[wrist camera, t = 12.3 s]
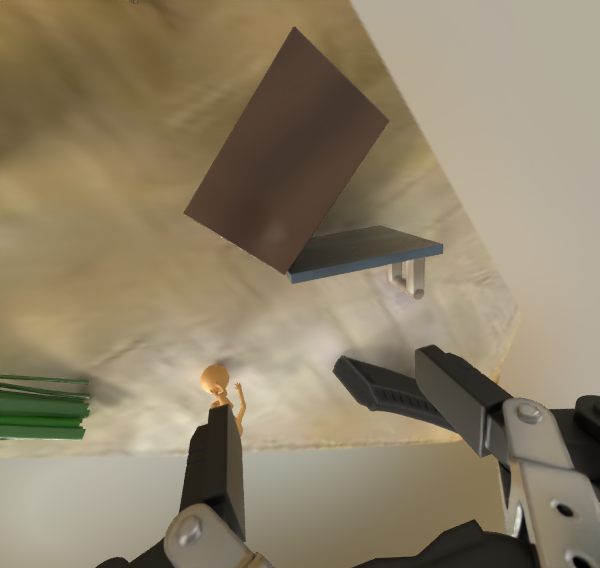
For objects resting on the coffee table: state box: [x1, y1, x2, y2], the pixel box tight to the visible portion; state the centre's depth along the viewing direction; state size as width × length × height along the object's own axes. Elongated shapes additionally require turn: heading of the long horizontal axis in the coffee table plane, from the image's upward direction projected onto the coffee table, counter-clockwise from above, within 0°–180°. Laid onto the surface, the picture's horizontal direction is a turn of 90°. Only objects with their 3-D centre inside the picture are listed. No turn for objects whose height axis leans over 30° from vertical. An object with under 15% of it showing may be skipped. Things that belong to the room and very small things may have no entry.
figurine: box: [201, 365, 246, 437], centre depth 39 cm, size 8×6×12 cm
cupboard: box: [184, 27, 389, 275], centre depth 31 cm, size 10×16×14 cm, turn 145°
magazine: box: [333, 356, 459, 434], centre depth 49 cm, size 17×3×30 cm
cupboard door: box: [286, 226, 443, 299], centre depth 36 cm, size 6×16×14 cm, turn 97°
